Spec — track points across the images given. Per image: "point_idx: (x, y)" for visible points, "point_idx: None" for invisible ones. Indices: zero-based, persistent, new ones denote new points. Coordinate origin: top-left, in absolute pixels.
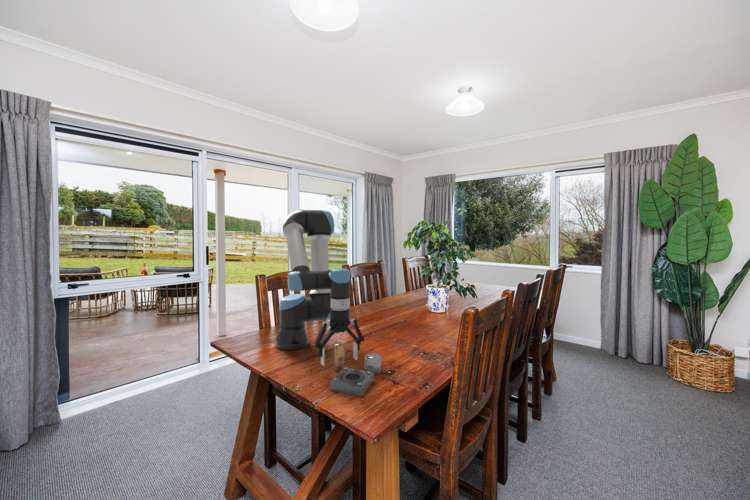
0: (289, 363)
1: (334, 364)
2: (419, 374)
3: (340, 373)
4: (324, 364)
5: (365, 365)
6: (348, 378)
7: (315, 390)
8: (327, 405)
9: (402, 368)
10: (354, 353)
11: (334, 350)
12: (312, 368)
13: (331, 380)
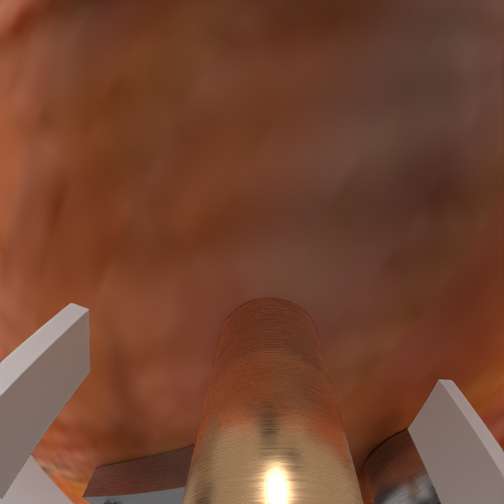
0: (14, 14)
1: (213, 364)
2: None
3: (163, 500)
4: (84, 377)
5: (378, 495)
6: None
7: None
8: (74, 495)
9: None
10: (443, 444)
11: (185, 491)
12: (75, 176)
13: (92, 499)
